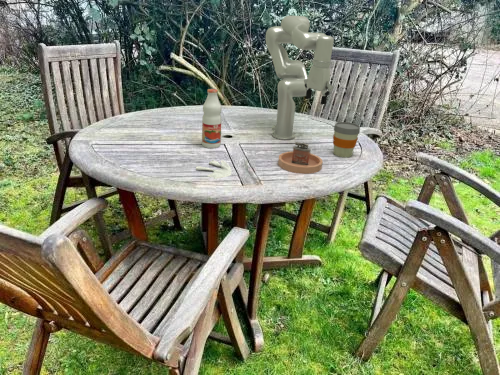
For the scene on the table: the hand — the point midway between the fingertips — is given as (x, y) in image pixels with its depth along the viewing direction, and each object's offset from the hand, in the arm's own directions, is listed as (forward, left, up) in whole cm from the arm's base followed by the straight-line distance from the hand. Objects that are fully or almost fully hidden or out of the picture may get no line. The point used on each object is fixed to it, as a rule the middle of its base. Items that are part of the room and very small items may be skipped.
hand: (315, 101), depth 193 cm
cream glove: (-10, -52, -27) cm, 59 cm away
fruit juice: (-34, -35, -26) cm, 56 cm away
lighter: (+8, -16, -26) cm, 31 cm away
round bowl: (+9, -16, -26) cm, 32 cm away
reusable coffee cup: (+11, +14, -26) cm, 32 cm away
